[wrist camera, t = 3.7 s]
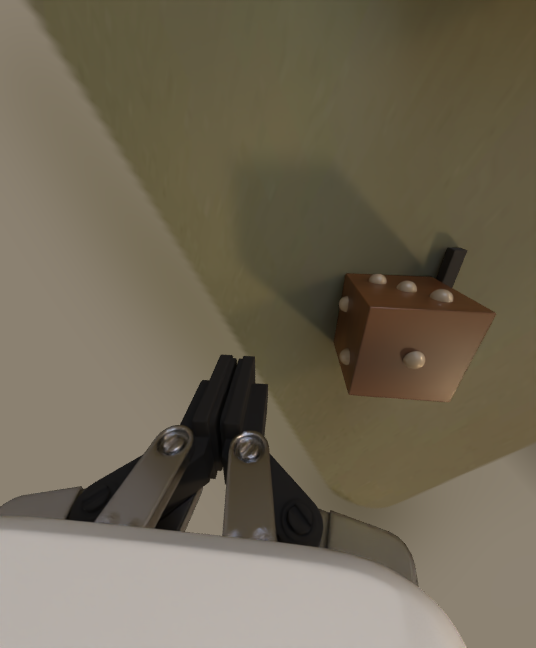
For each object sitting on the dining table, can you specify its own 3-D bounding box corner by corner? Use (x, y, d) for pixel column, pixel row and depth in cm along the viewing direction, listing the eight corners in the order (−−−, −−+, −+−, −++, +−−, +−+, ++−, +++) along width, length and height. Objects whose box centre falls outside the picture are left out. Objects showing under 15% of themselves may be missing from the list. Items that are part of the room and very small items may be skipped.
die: (339, 265, 17) (364, 300, 11) (434, 269, 16) (511, 308, 11) (327, 342, 20) (341, 400, 14) (407, 347, 19) (454, 409, 14)
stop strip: (447, 247, 16) (454, 249, 15) (460, 247, 16) (468, 250, 15) (403, 366, 20) (407, 372, 20) (413, 367, 20) (417, 373, 20)
